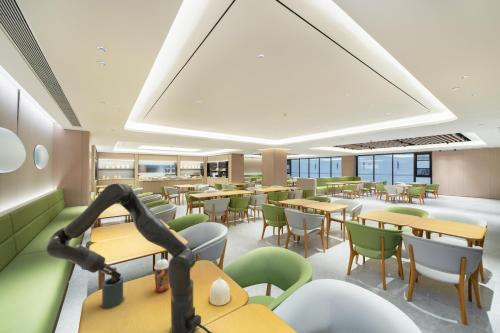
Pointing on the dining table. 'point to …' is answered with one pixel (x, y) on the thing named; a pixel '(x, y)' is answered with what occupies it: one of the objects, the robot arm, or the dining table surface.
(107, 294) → the jar
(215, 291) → the white rounded dome
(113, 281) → the brush
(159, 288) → the smoothie
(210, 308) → the dining table surface
